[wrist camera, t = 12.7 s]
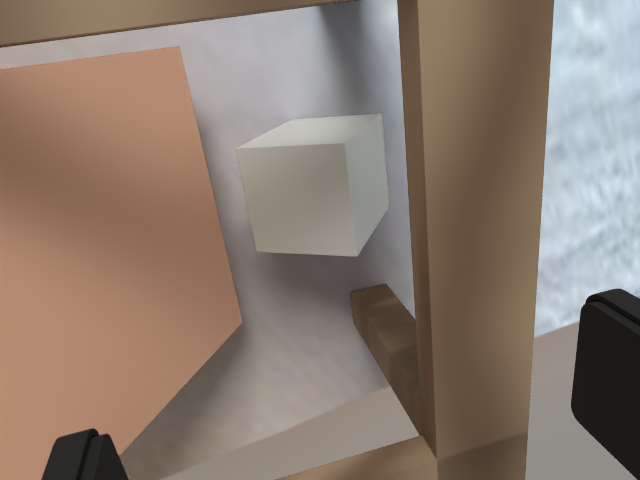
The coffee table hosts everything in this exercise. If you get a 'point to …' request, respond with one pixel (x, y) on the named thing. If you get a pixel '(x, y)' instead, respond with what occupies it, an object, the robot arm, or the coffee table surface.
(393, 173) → the coffee table surface
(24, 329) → the trapdoor
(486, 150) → the miniature wooden side table
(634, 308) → the robot arm
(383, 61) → the coffee table surface
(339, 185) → the light gray block
